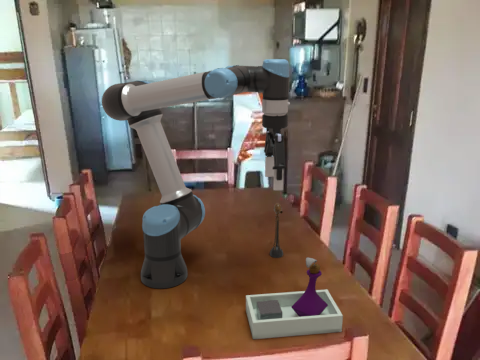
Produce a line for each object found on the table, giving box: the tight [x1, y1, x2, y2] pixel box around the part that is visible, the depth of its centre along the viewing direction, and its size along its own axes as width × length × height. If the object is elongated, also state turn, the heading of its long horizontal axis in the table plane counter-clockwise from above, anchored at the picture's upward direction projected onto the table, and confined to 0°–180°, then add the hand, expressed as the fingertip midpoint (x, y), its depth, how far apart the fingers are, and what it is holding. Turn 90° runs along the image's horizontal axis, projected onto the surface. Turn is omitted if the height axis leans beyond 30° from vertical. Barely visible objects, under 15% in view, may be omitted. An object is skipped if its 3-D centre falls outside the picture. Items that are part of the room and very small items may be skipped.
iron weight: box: [256, 300, 282, 320], centre depth 120 cm, size 6×6×4 cm
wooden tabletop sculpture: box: [269, 202, 284, 259], centre depth 156 cm, size 6×5×20 cm
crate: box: [245, 288, 344, 340], centre depth 121 cm, size 24×13×5 cm, turn 97°
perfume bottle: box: [291, 257, 328, 317], centre depth 120 cm, size 8×8×18 cm
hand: (273, 183), depth 135 cm, fingers open, 13 cm apart
